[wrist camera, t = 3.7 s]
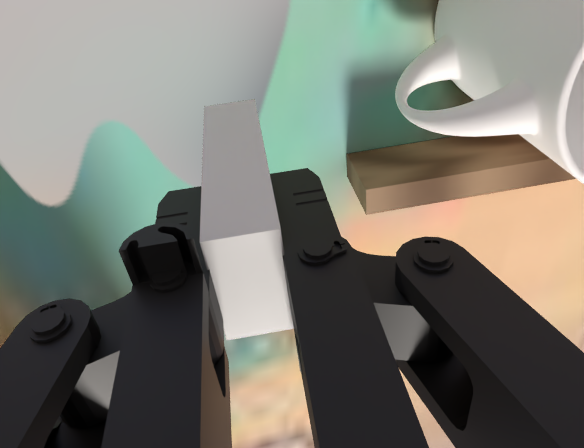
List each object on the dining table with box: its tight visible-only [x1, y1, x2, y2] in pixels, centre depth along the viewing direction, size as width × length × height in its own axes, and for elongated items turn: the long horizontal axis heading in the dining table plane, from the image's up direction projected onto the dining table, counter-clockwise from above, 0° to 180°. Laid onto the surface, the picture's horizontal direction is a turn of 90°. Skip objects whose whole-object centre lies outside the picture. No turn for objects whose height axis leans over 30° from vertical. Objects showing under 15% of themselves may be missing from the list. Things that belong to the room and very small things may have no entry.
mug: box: [395, 0, 584, 184], centre depth 19 cm, size 9×12×11 cm
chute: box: [347, 134, 576, 215], centre depth 21 cm, size 20×15×6 cm
